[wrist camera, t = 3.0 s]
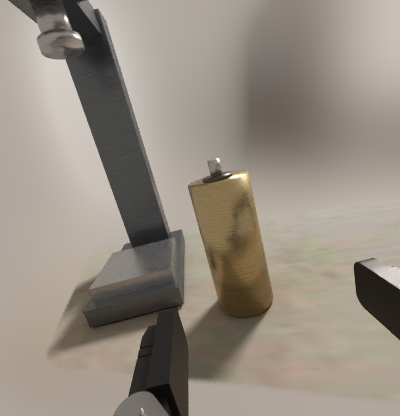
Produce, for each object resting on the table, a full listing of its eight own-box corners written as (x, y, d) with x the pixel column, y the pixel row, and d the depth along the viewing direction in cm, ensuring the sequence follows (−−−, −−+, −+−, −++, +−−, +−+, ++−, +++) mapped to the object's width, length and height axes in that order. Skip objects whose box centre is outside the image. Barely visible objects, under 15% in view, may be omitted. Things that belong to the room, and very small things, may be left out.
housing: (246, 276, 27) (218, 155, 24) (284, 294, 23) (258, 149, 19) (209, 300, 25) (172, 169, 21) (244, 326, 20) (205, 166, 17)
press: (255, 285, 25) (161, -146, 16) (90, 327, 25) (-90, -77, 17) (227, 228, 42) (173, 2, 33) (128, 254, 42) (49, 35, 33)
